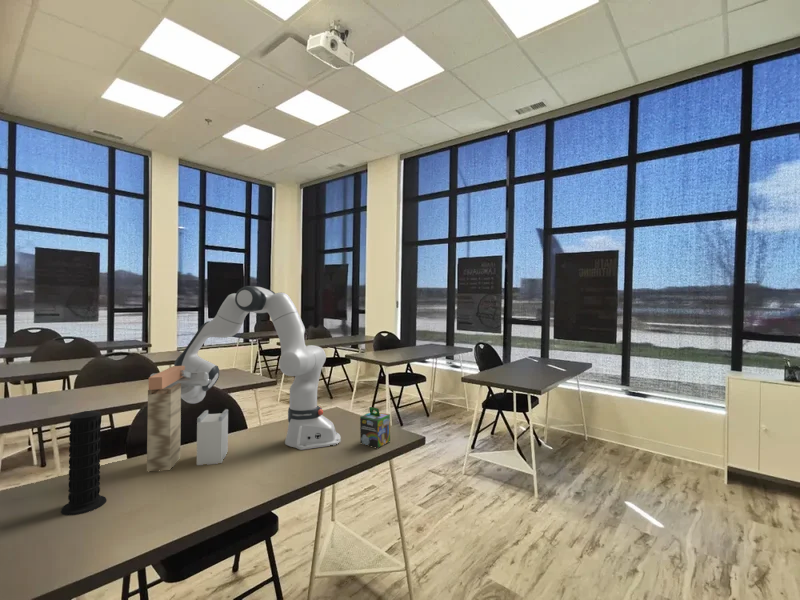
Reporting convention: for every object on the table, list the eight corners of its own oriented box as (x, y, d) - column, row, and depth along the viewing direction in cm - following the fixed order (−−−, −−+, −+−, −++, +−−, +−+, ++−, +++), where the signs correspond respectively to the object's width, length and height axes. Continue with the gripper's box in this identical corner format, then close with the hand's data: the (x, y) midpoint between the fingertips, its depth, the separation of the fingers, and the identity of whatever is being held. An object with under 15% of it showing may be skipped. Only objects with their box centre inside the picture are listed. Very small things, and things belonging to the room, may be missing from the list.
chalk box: (390, 442, 160) (391, 406, 160) (377, 449, 153) (378, 411, 153) (372, 437, 165) (373, 402, 165) (359, 444, 158) (359, 407, 158)
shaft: (184, 375, 150) (184, 365, 150) (162, 389, 128) (162, 377, 128) (173, 376, 149) (173, 366, 149) (148, 389, 127) (148, 377, 127)
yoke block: (227, 452, 147) (228, 409, 147) (221, 463, 138) (221, 416, 138) (204, 454, 146) (205, 410, 146) (196, 465, 136) (197, 418, 136)
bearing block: (180, 458, 141) (181, 383, 141) (169, 470, 131) (170, 389, 132) (158, 460, 140) (159, 383, 140) (146, 472, 130) (147, 390, 130)
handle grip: (50, 514, 104) (87, 515, 104) (51, 416, 104) (88, 416, 104) (81, 496, 114) (115, 496, 114) (82, 405, 114) (116, 406, 114)
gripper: (212, 390, 156) (203, 379, 145) (155, 393, 152) (142, 381, 140) (214, 375, 159) (205, 363, 148) (159, 377, 155) (145, 365, 144)
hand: (174, 372), depth 144 cm, fingers closed on shaft, 4 cm apart
